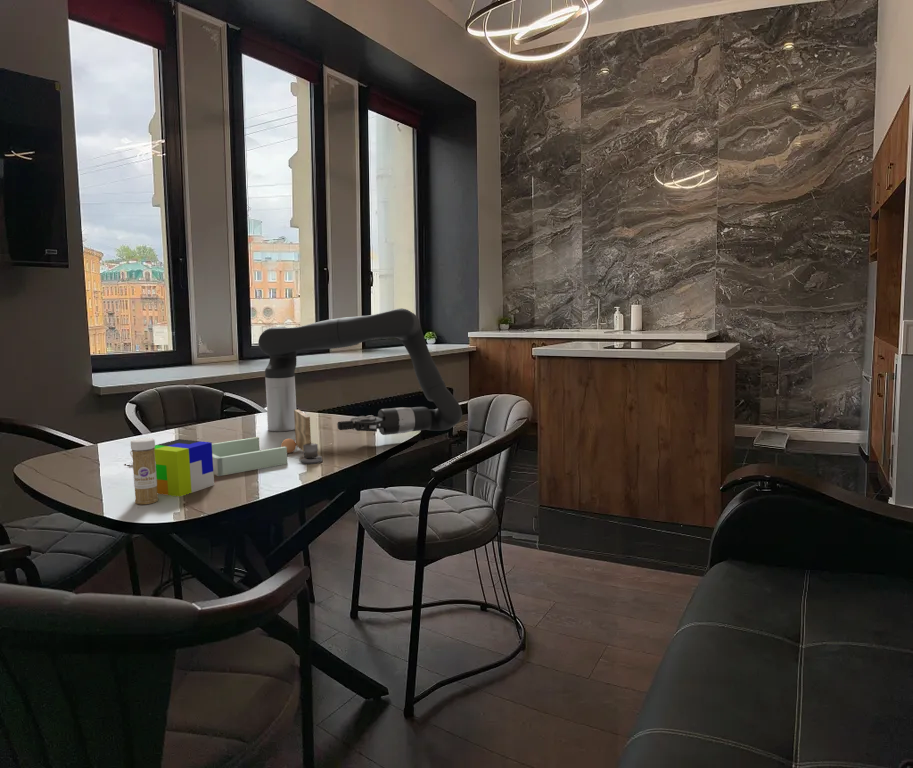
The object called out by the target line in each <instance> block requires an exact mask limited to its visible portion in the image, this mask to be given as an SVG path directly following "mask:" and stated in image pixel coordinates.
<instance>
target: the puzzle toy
mask: <svg viewBox="0 0 913 768" xmlns="http://www.w3.org/2000/svg"><path fill="white" fill-rule="evenodd" d="M212 444H213V443H212V442H209V441H202V440H201V441H200V440H192V439H182V438H181V439H175V440H170V441H166V442H163V443H159V444H155V450H154V451H155V462H156V475H157V493H158V494H157V495H165V496H170V495H171V496H173V497H177V496H179V497H180V496H181V497H183V495H184V496H186V494H187V495H189V493H190V494H192V493H196V492H198V491H201V490H203V489H207V488H209V487H212V486H215V478H214V477H215V474H214V473H213V457H212ZM179 497H178V498H179Z"/></svg>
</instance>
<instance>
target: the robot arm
mask: <svg viewBox="0 0 913 768" xmlns="http://www.w3.org/2000/svg"><path fill="white" fill-rule="evenodd" d="M384 338H385V339H387V338H391V339H393V338H395V339H399V340H400V342H401V343H402V345H403V347H404V348H405V349H406V351H407V353H408V355H409V357H410V360H411V363H412V367H413V370H414V373H415V376H416V379H417V382H418V384H419V386H420V388H421V390H422V393H423V394H424V397H425V398H426V399H427V400H426V401H429V402H431V403H432V402H433V403H434V405H435V406H436V408H435V409H433V408H432V409H431V408H430V409H429V408H428V407H426V406H414V407H392V408H381V409H379V410H378V413H377V416H374V415H372V414H371V415H366V416H365V415H359V416H357V417H352V418H350V420H345V421H344V420H341V421H338V422H337V423H336V425H337V430H340V431H346V430H352V431H357V432H360V431H361V432H374V433H375V432H377V430H378V431H379V433H380V434H381V435H383V436H387V435H388V436H389V435H398V434H399V435H400V434H406V433H409V432H419V431H420V432H421V431H425V430H427V431H435V432H436V431H437V432H439V431H447V430H450V429H452V428H453V427H454V426H456V425H457V424H459V423H460V422H461V420H462V417H463V411H462V408H461V405H460V404H459V402H458V400H457V399H456V398H455V397H454V395H453V394H452V393H451V391H450V390H449V389H448V388H447V386H446V383H445V381H444V379H443V377H442V375H441V373H440V370H439V369H438V367H437V364H436V363H435V360H434V359H433V357H432V355H431V353H430V350H429V348H428V344H427V342H426V339H425V335H424V333H423V329H422V326H421V322H420V319H419V318H418V315H416V314H415V313H414V312H412V311H411V310H409V309H407V308H395V309H394V308H393V309H391V310H387V311H384V312H383V311H382V312H379V313H375V314H370V315H357V316H347V317H346V316H345V317H338V318H337V317H336V318H332V319H331V318H330V319H326V320H321V321H317V322H311V323H310V324H305V325H301V326H296V327H285V326H276V327H269V328H267V329H265V330H264V331H262V333H260V336H259V338H258V348H259V349H260V350H261V352H262V353H264V355H267V356H269V362H268V364H267V366H266V368H265V369H264V374H265V375H264V376H265V377H264V379H265V397H266V415H267V417H266V418H267V419H266V420H267V430H268V431H270V432H288V431H295V420H294V410H297V397H296V395H297V394H296V375H295V374H296V373H295V372H296V368H297V352H298V351H304V350H309V351H310V350H314V351H315V350H330V349H331V350H333V349H342V348H348V347H352V346H356V345H359V344H361V343H365V342H366V341H369V340H373V339H384Z"/></svg>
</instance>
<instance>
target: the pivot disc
mask: <svg viewBox="0 0 913 768" xmlns="http://www.w3.org/2000/svg"><path fill="white" fill-rule="evenodd" d="M322 462H323V456H322V455H318V456H317V457H314V458H305V457H304V455H303V456H300V458H299V464H302V465H314V464H321V463H322Z"/></svg>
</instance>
